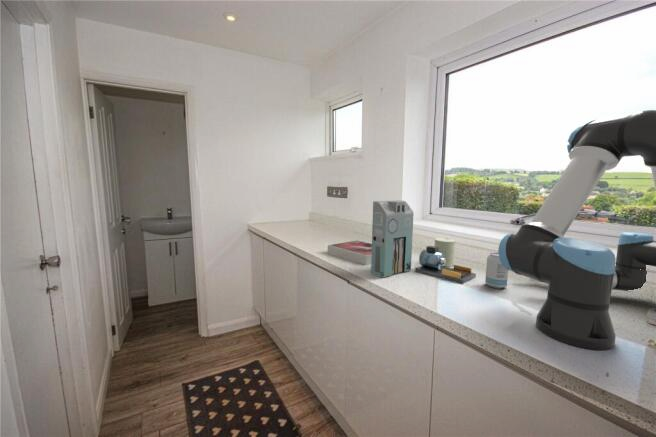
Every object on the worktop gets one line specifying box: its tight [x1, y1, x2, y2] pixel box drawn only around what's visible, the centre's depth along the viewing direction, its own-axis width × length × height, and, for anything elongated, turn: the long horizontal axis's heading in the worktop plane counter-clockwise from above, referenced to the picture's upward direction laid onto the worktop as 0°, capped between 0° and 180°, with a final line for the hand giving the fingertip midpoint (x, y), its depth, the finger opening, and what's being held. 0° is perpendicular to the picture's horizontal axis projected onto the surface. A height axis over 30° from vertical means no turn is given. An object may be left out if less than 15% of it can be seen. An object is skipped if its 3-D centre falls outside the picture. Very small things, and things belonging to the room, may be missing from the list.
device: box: [370, 199, 415, 279], centre depth 119 cm, size 16×8×30 cm, turn 126°
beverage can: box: [484, 252, 509, 290], centre depth 105 cm, size 7×7×12 cm
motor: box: [414, 245, 477, 285], centre depth 118 cm, size 12×20×10 cm, turn 41°
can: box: [434, 237, 456, 267], centre depth 134 cm, size 9×9×12 cm
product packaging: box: [327, 239, 372, 266], centre depth 148 cm, size 22×28×5 cm
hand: (522, 271), depth 103 cm, fingers open, 13 cm apart
